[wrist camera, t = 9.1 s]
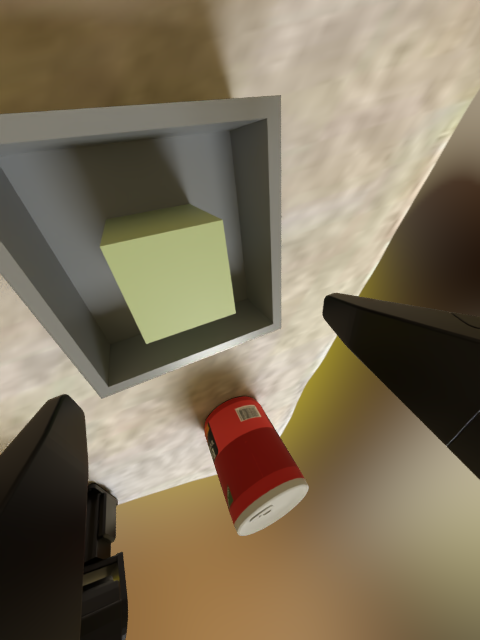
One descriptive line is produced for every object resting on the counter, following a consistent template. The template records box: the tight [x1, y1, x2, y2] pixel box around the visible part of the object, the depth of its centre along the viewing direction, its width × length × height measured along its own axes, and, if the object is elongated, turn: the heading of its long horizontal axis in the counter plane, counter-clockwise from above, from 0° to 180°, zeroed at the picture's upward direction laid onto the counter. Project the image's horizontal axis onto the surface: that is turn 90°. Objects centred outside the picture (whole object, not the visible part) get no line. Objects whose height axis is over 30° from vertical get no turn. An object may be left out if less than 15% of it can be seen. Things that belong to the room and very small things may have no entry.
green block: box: [100, 204, 236, 344], centre depth 13 cm, size 5×5×6 cm
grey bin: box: [0, 95, 281, 399], centre depth 14 cm, size 13×13×5 cm
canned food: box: [205, 396, 309, 536], centre depth 26 cm, size 8×8×11 cm
